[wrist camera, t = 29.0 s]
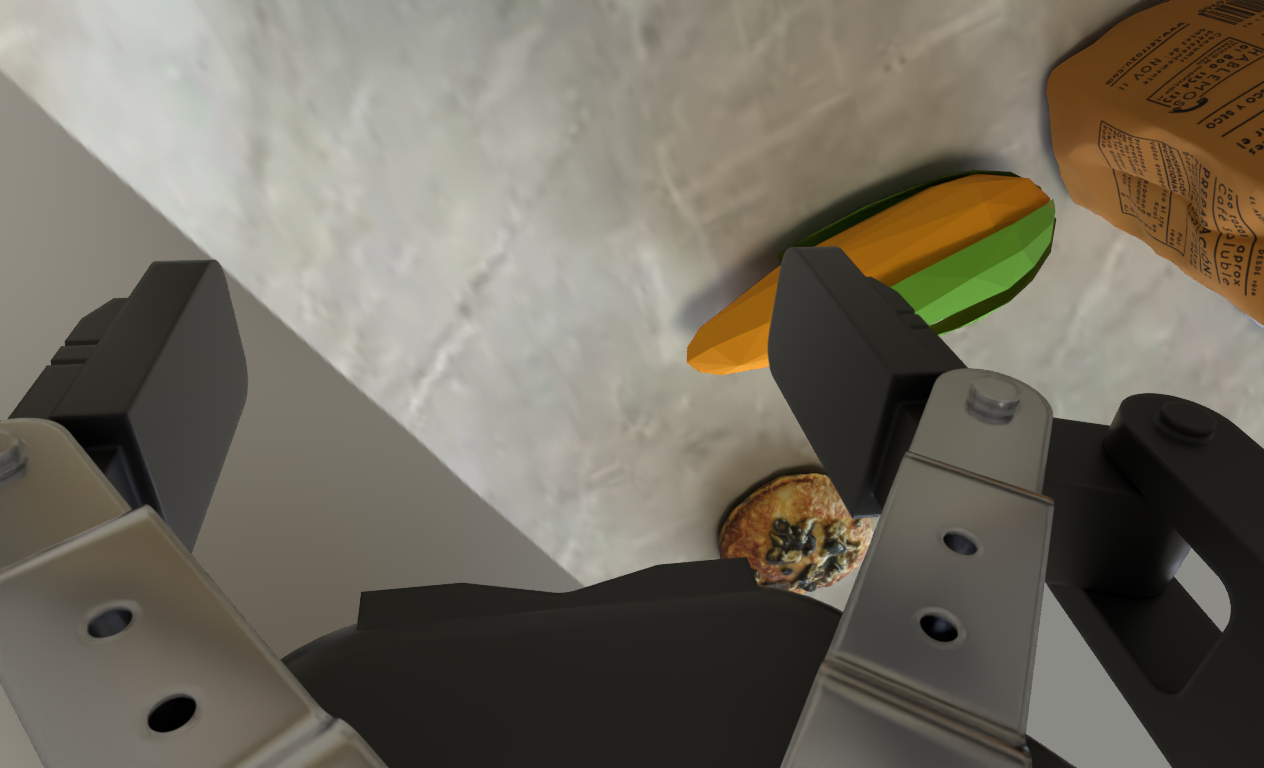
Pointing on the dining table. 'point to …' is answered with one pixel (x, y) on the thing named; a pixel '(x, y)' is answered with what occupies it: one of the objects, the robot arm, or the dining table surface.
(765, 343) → the corn
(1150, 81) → the coffee package
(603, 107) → the dining table surface
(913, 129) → the dining table surface
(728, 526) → the bread roll
